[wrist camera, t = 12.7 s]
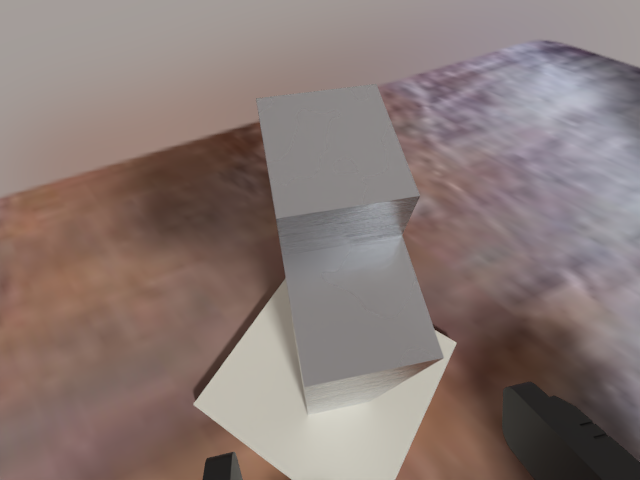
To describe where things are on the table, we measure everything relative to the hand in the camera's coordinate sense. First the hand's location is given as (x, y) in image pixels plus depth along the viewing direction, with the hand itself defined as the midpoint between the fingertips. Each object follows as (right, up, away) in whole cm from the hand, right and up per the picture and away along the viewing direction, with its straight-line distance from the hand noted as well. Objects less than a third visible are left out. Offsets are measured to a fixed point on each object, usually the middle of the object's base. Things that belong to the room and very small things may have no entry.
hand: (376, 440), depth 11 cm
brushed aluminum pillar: (-1, 0, +11) cm, 11 cm away
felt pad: (-1, -2, +11) cm, 11 cm away
